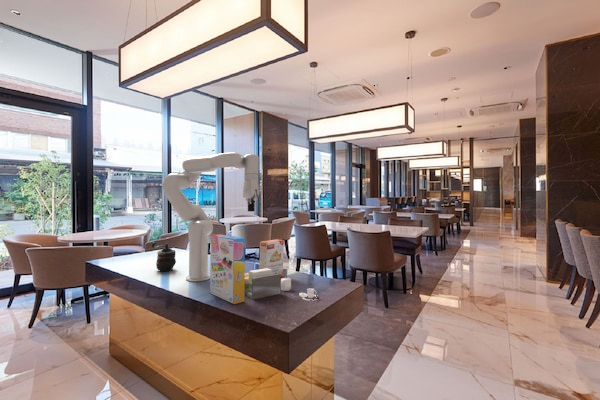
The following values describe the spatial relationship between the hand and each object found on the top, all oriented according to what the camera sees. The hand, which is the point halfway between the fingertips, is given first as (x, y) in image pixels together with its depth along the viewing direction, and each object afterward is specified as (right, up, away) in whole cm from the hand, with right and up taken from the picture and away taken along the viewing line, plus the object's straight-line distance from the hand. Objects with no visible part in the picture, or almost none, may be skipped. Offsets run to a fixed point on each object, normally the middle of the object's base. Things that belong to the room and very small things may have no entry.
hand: (251, 211), depth 160 cm
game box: (-6, -37, -29) cm, 48 cm away
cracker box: (+11, -38, +3) cm, 39 cm away
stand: (+6, -37, -19) cm, 42 cm away
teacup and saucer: (+30, -38, -25) cm, 55 cm away
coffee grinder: (-55, -37, +17) cm, 68 cm away
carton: (+7, -31, -21) cm, 38 cm away
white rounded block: (+20, -37, -16) cm, 45 cm away
